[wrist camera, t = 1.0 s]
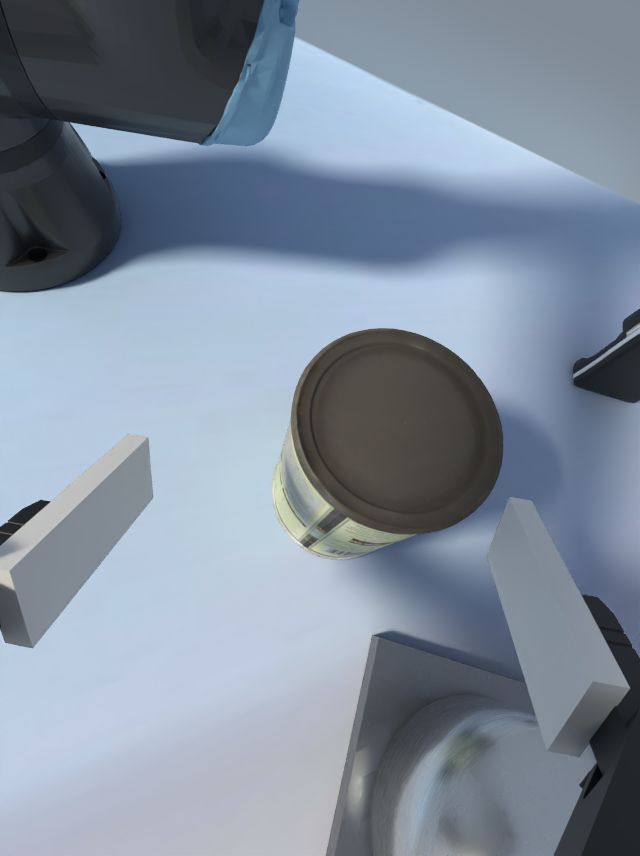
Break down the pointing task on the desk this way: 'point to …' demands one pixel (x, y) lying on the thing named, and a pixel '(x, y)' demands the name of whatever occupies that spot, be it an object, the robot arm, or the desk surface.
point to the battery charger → (614, 365)
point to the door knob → (449, 764)
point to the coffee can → (384, 444)
